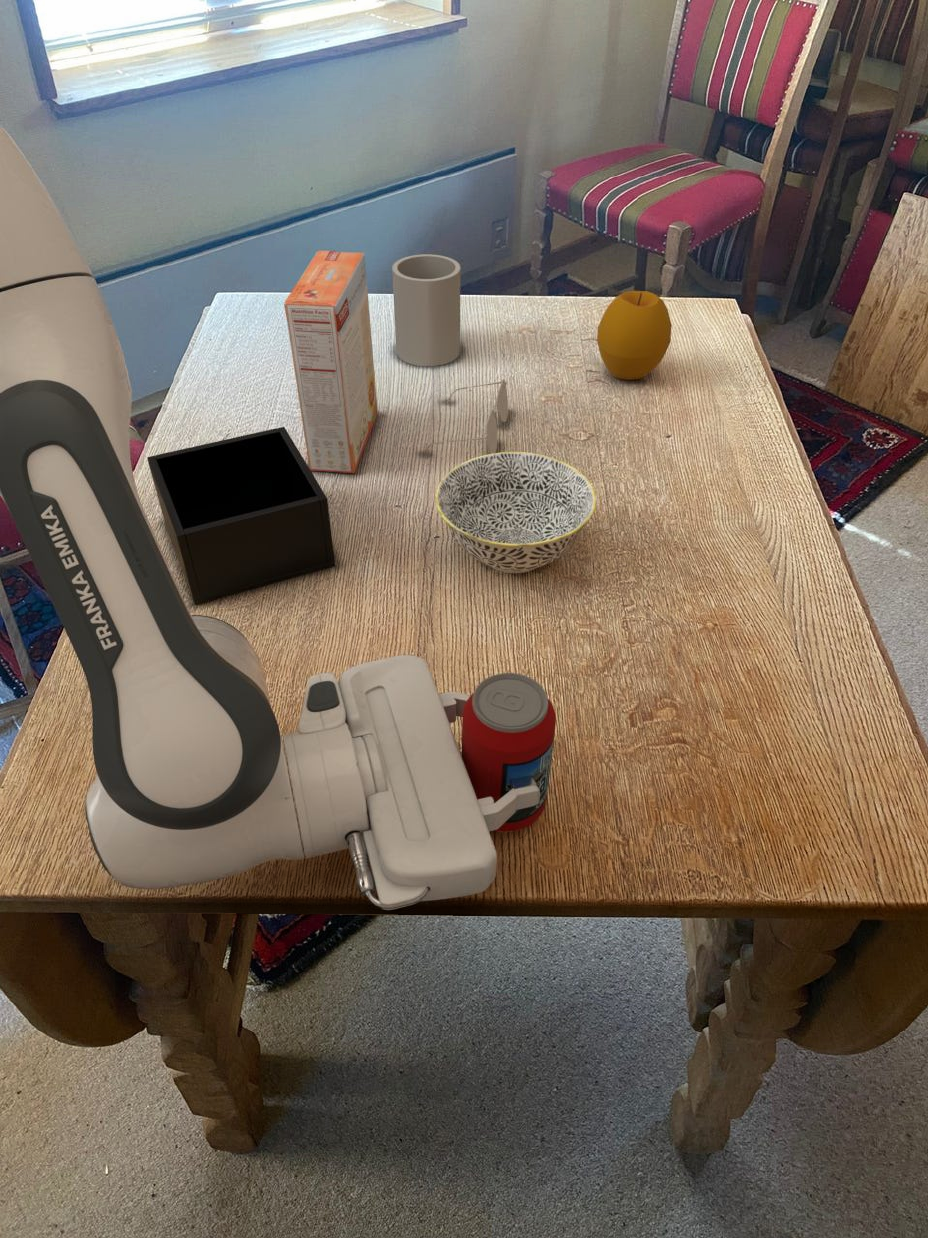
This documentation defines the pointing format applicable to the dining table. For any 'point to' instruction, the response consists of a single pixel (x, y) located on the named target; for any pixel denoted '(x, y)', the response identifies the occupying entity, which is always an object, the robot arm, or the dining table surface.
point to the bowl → (515, 508)
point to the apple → (634, 334)
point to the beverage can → (508, 740)
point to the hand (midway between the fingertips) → (518, 746)
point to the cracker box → (333, 359)
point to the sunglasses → (490, 418)
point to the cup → (427, 309)
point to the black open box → (242, 513)
